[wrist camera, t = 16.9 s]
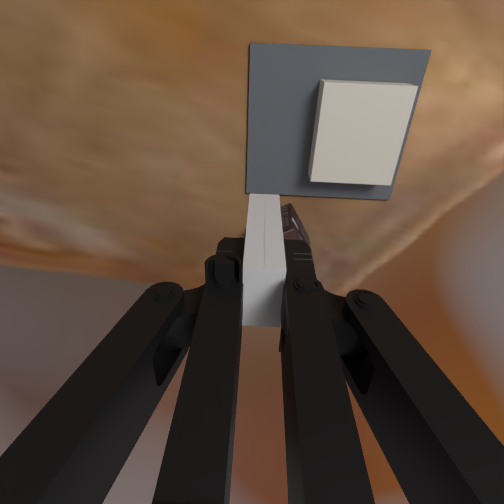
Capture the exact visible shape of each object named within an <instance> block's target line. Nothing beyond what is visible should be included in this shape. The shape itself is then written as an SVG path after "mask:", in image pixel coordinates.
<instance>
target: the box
mask: <svg viewBox="0 0 504 504" xmlns="http://www.w3.org/2000/svg"><path fill="white" fill-rule="evenodd" d="M280 209H281V219H282V229H283V239H291V240H304V241H305V242H306V243H307V244H308V245H309V247H310V242H309V237H308V235H307V233H306V231H305V229H304V227H303V225H302V223H301V221H300V219H299V217H298V215H297V214H296V212H295V210H294V208H293V206H292V204H290V203H289V204H287V205H285V206H283V207H281V208H280ZM310 251H311V247H310ZM311 256H312V253H311ZM312 260H313V258H312ZM313 265H314V263H313Z"/></svg>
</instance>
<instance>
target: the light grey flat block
mask: <svg viewBox="0 0 504 504" xmlns="http://www.w3.org/2000/svg"><path fill="white" fill-rule="evenodd" d="M417 89H418V86H415V85H412V84H408V83H390V82H368V81H346V80H324V79H320V85H319V93H318V100H317V108H316V115H315V123H314V130H313V138H312V146H311V153H310V161H309V168H308V175H309V178H310V181H312V182H332V183H351V184H371V185H391V183H392V179H393V175H394V172H395V168H396V165H397V161H398V157H399V154H400V150H401V147H402V143H403V139H404V136H405V132H406V129H407V125H408V121H409V118H410V114H411V111H412V107H413V103H414V100H415V96H416V93H417Z"/></svg>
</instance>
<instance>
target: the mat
mask: <svg viewBox="0 0 504 504" xmlns="http://www.w3.org/2000/svg"><path fill="white" fill-rule="evenodd" d="M430 53H431V50H417V49H393V48H368V47H343V46H318V45H293V44H268V43H250V69H249V108H248V146H247V184H246V193H257V194H278V195H298V196H319V197H339V198H360V199H380V200H389V199H390V196H391V192H392V189H393V185H394V182H395V178H396V174H397V171H398V167H399V164H400V160H401V157H402V153H403V149H404V146H405V142H406V139H407V135H408V132H409V128H410V124H411V121H412V117H413V114H414V110H415V106H416V103H417V99H418V96H419V92H420V89H421V85H422V81H423V78H424V74H425V71H426V67H427V64H428V60H429V56H430ZM320 79H324V80H346V81H368V82H390V83H408V84H412V85H415V86H418V89H417V93H416V96H415V100H414V103H413V107H412V111H411V114H410V118H409V121H408V125H407V129H406V132H405V136H404V139H403V143H402V147H401V150H400V154H399V157H398V161H397V165H396V168H395V172H394V175H393V179H392V183H391V185H371V184H351V183H332V182H312V181H310V178H309V175H308V168H309V161H310V153H311V146H312V138H313V130H314V123H315V115H316V108H317V100H318V93H319V85H320Z"/></svg>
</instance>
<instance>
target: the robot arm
mask: <svg viewBox="0 0 504 504" xmlns="http://www.w3.org/2000/svg"><path fill="white" fill-rule="evenodd" d="M205 280H206V282H205V284H204V285H203V286H200V287H198V288H195V289H190V290H185V291H183V288H182V287H181V286H180V285H179V284H176V283H173V282H161V283H157V284H155V285H152V286H151V287H149V288H148V289H147V290H146V291H145V292H144V293H143V294H142V295H141V297H140V298H139V299H138V300H137V301H136V302H135V303H134V304H133V306H132V307H131V308H130V309H129V310H128V311H127V313H126V314H125V315H124V316H123V317H122V318H121V319H120V320H119V322H118V323H117V324H116V325H115V326H114V327H113V329H112V330H111V331H110V332H109V333H108V334H107V336H105V338H104V339H103V340H102V341H101V342H100V343H99V345H98V346H97V347H96V348H95V349H94V350H93V351H92V353H91V354H90V355H89V356H88V357H87V358H86V359H85V361H84V362H83V363H82V364H81V365H80V366H79V367H78V369H77V370H76V371H75V372H74V373H73V374H72V375H71V377H70V378H69V379H68V380H67V381H66V382H65V383H64V385H63V386H62V387H61V388H60V389H59V390H58V391H57V393H56V394H55V395H54V396H53V397H52V398H51V399H50V401H49V402H48V403H47V404H46V405H45V407H43V409H42V410H41V411H40V412H39V413H38V414H37V416H36V417H35V418H34V419H33V420H32V421H31V423H30V424H29V425H28V426H27V427H26V428H25V429H24V430H23V431H22V433H21V434H20V435H19V436H18V437H17V438H16V439H15V441H14V442H13V443H12V444H11V445H10V446H9V447H8V449H7V450H6V451H5V452H4V453H3V454H2V455H1V457H0V504H102V503H103V501H104V499H105V498H106V496H107V494H108V492H109V490H110V489H111V487H112V485H113V483H114V482H115V480H116V478H117V476H118V474H119V473H120V471H121V469H122V467H123V465H124V464H125V462H126V460H127V458H128V456H129V455H130V453H131V451H132V449H133V448H134V446H135V444H136V442H137V441H138V439H139V437H140V435H141V433H142V431H143V430H144V428H145V426H146V425H147V423H148V421H149V419H150V417H151V416H152V413H153V412H154V410H155V409H156V407H157V405H158V403H159V401H160V400H161V398H162V396H163V394H164V392H165V391H166V389H167V387H168V385H169V384H170V382H171V380H172V378H173V376H174V375H175V373H176V371H177V369H178V368H179V366H180V364H181V362H182V360H183V359H184V357H185V355H186V353H187V351H188V348H189V347H190V349H189V353H188V357H187V361H186V365H185V369H184V373H183V377H182V381H181V386H180V390H179V394H178V398H177V403H176V406H175V410H174V414H173V419H172V423H171V427H170V431H169V435H168V439H167V444H166V448H165V452H164V456H163V460H162V464H161V468H160V472H159V476H158V480H157V485H156V489H155V493H154V497H153V501H152V504H229V500H230V499H229V498H230V486H231V485H230V484H231V472H232V459H233V446H234V432H235V418H236V405H237V392H238V378H239V364H240V351H241V337H242V325H245V326H267V327H268V326H269V327H280V325H281V335H280V343H279V352H281V364H282V383H283V404H284V422H285V444H286V463H287V483H288V503H289V504H375V502H374V498H373V493H372V489H371V485H370V481H369V477H368V473H367V468H366V465H365V460H364V456H363V452H362V447H361V443H360V439H359V435H358V431H357V427H356V422H355V419H354V414H353V410H352V405H351V401H350V398H349V393H348V389H347V384H346V381H347V383H348V385H349V387H350V389H351V391H352V393H353V395H354V397H355V398H356V401H357V403H358V405H359V407H360V408H361V410H362V412H363V414H364V416H365V418H366V420H367V422H368V424H369V426H370V428H371V430H372V432H373V434H374V436H375V438H376V440H377V441H378V443H379V445H380V447H381V449H382V451H383V453H384V455H385V457H386V459H387V461H388V463H389V465H390V467H391V468H392V471H393V473H394V474H395V476H396V478H397V480H398V482H399V484H400V486H401V488H402V490H403V492H404V494H405V496H406V498H407V500H408V502H409V503H410V504H504V446H503V445H502V443H501V442H500V441H499V440H498V439H497V437H496V436H495V435H494V434H493V433H492V431H491V430H490V429H489V428H488V426H487V425H486V424H485V423H484V422H483V420H482V419H481V418H480V417H479V415H478V414H477V413H476V412H475V410H474V409H473V408H472V407H471V406H470V405H469V403H468V402H467V401H466V400H465V398H464V397H463V396H462V395H461V393H460V392H459V391H458V390H457V389H456V387H455V386H454V385H453V384H452V382H451V381H450V380H449V379H448V378H447V376H446V375H445V374H444V373H443V372H442V370H441V369H440V368H439V367H438V365H437V364H436V363H435V362H434V361H433V359H432V358H431V357H430V356H429V354H428V353H427V352H426V351H425V350H424V348H423V347H422V346H421V345H420V344H419V342H418V341H417V340H416V339H415V337H414V336H413V335H412V334H411V333H410V331H409V330H408V329H407V328H406V327H405V326H404V324H403V323H402V322H401V320H400V319H399V318H398V317H397V316H396V314H395V313H394V312H393V311H392V309H391V308H390V307H389V306H388V305H387V303H386V302H385V301H384V300H383V299H382V298H381V297H380V296H379V295H377V294H375V293H373V292H371V291H367V290H357V289H356V290H353V291H350V292H349V293H348V294H347V295H346V297H342V296H338V295H335V294H332V293H329V292H327V291H326V290H324V288H323V286H322V284H321V282H319V281H318V280H317V278H316V274H315V269H314V265H313V260H312V256H311V251H310V247H309V245H308V244H307V243H306V242H305V241H304V240H291V239H283V229H282V219H281V209H280V199H279V195H274V194H250V197H249V207H248V217H247V227H246V238H226V237H224V238H223V239H222V240H221V241H220V242H219V243H218V246H217V251H216V255H213V256H211V257H209V258H208V259H207V260H206V261H205ZM345 379H346V380H345Z"/></svg>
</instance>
